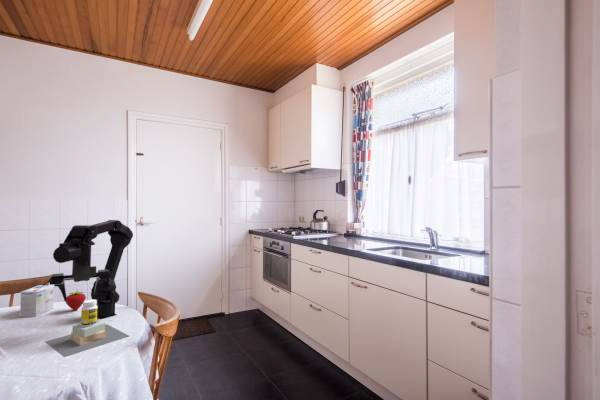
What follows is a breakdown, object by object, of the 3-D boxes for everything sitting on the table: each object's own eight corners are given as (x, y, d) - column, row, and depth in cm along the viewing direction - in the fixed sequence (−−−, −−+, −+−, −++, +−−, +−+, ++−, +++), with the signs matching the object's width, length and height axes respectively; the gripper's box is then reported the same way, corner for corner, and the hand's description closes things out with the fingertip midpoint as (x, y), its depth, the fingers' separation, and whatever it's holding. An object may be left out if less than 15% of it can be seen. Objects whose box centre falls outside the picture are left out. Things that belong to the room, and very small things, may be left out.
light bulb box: (38, 308, 142) (39, 284, 142) (53, 308, 143) (54, 284, 143) (18, 316, 131) (20, 291, 132) (35, 316, 132) (36, 291, 132)
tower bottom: (95, 332, 117) (96, 325, 117) (105, 337, 112) (105, 330, 112) (70, 339, 110) (71, 332, 110) (80, 345, 105) (80, 338, 105)
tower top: (92, 326, 116) (92, 319, 116) (104, 330, 113) (104, 323, 113) (72, 333, 109) (72, 326, 109) (84, 337, 106) (84, 329, 106)
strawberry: (64, 310, 140) (65, 288, 140) (84, 307, 145) (85, 285, 145) (65, 314, 136) (66, 291, 136) (86, 310, 140) (87, 288, 141)
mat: (107, 325, 124) (107, 324, 124) (129, 337, 114) (129, 336, 114) (44, 342, 108) (44, 341, 108) (64, 358, 98) (64, 357, 98)
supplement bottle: (88, 327, 108) (89, 303, 108) (77, 326, 109) (78, 302, 109) (100, 322, 113) (101, 299, 113) (89, 321, 114) (90, 298, 114)
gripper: (49, 263, 107) (48, 309, 107) (112, 259, 118) (111, 300, 118) (51, 259, 116) (49, 301, 116) (109, 255, 127) (108, 293, 127)
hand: (80, 299), depth 119 cm, fingers open, 9 cm apart
